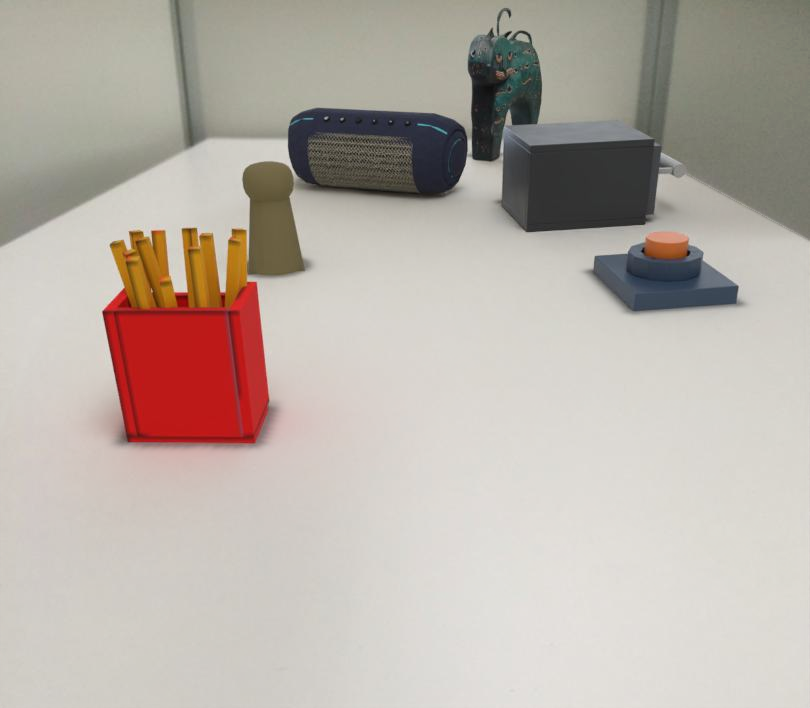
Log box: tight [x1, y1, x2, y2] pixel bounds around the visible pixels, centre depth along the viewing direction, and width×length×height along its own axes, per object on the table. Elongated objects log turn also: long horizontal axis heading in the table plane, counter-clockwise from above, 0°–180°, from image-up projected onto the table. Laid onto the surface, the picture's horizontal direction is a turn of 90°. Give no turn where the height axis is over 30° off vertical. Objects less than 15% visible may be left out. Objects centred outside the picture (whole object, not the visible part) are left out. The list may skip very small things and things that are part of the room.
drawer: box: [646, 141, 687, 216], centre depth 118 cm, size 18×11×8 cm, turn 99°
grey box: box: [501, 119, 656, 233], centre depth 117 cm, size 15×13×10 cm
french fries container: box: [101, 227, 270, 444], centre depth 68 cm, size 7×9×14 cm
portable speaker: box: [287, 107, 469, 196], centre depth 130 cm, size 25×10×10 cm, turn 67°
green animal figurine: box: [467, 7, 543, 162], centre depth 148 cm, size 20×6×20 cm, turn 149°
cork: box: [241, 160, 306, 276], centre depth 100 cm, size 6×6×11 cm
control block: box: [592, 241, 740, 312], centre depth 94 cm, size 10×12×4 cm
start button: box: [644, 231, 690, 259], centre depth 93 cm, size 4×4×2 cm
